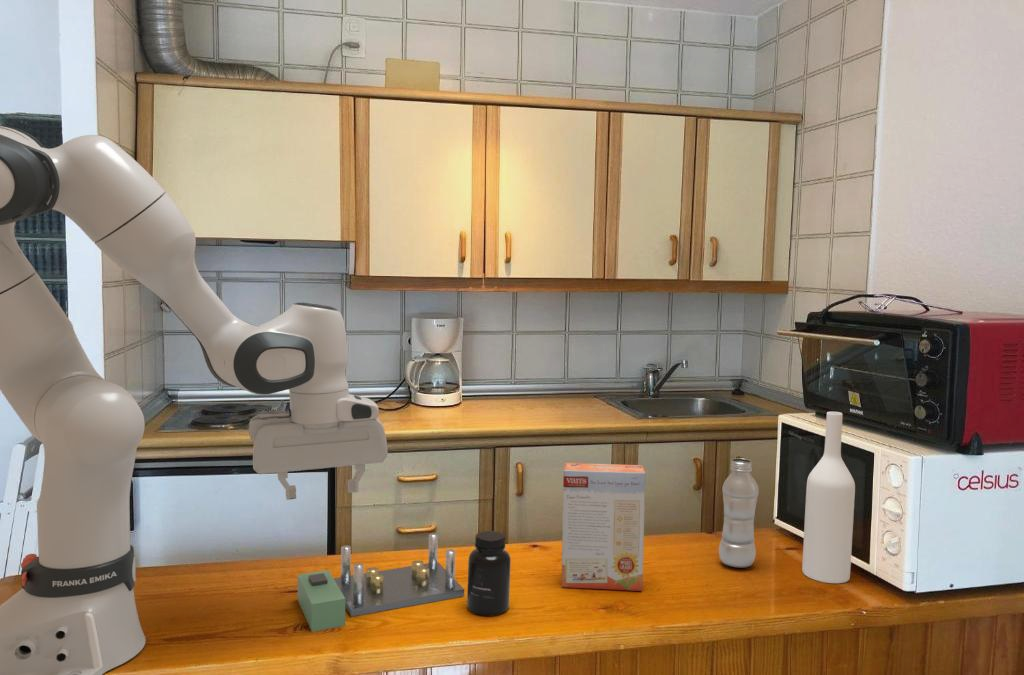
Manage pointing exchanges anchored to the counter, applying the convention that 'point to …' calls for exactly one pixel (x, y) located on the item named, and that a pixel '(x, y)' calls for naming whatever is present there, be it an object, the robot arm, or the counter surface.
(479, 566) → the supplement bottle
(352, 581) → the chassis
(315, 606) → the green rectangular block
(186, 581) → the counter surface
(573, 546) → the cracker box
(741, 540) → the plastic bottle
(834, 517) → the bottle
